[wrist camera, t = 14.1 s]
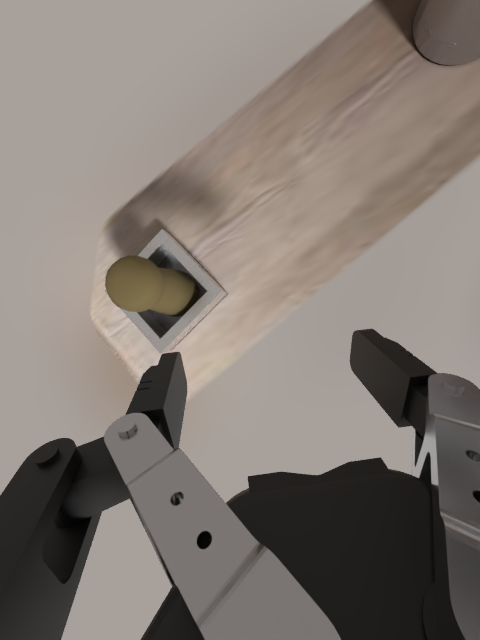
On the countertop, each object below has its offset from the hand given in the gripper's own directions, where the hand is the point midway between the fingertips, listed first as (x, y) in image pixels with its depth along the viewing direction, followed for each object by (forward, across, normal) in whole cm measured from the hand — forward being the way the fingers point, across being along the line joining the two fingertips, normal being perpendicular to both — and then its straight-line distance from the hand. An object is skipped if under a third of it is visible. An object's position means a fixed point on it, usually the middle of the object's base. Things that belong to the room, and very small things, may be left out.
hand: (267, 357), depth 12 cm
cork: (+22, +8, +3) cm, 24 cm away
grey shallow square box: (+23, +9, +3) cm, 24 cm away
